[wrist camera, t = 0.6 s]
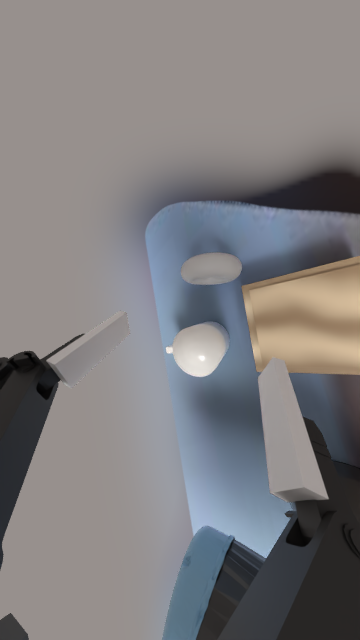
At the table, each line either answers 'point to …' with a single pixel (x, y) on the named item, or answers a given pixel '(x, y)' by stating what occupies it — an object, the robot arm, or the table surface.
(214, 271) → the donut
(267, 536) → the table surface
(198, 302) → the table surface
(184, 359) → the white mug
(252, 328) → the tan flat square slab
